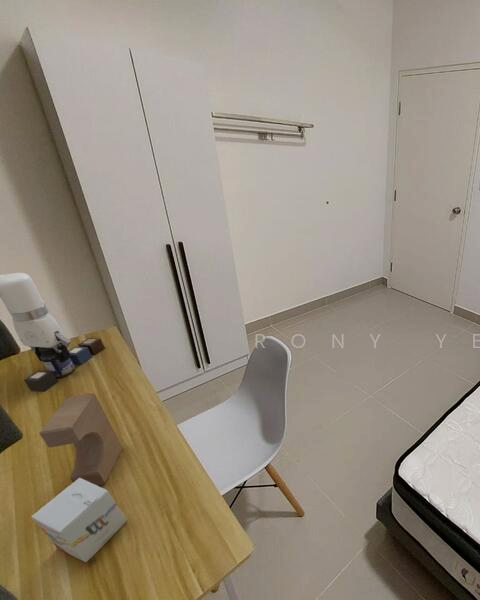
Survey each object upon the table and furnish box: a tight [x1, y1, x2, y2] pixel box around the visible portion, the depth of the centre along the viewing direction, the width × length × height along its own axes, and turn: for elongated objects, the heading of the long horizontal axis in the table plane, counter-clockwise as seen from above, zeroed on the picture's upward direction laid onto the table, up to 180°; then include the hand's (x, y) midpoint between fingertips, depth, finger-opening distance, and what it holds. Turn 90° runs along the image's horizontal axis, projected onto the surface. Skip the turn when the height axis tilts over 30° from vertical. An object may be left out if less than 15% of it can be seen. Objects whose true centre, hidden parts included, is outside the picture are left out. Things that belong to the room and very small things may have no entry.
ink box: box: [31, 478, 128, 563], centre depth 67 cm, size 9×9×12 cm
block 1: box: [23, 369, 59, 392], centre depth 104 cm, size 4×4×5 cm
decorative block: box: [38, 392, 123, 487], centre depth 78 cm, size 11×6×20 cm, turn 16°
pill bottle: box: [39, 344, 76, 379], centre depth 108 cm, size 6×6×11 cm
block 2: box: [68, 346, 93, 366], centre depth 116 cm, size 4×4×5 cm
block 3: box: [77, 337, 106, 356], centre depth 121 cm, size 4×4×5 cm
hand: (55, 358), depth 108 cm, fingers closed on pill bottle, 6 cm apart
